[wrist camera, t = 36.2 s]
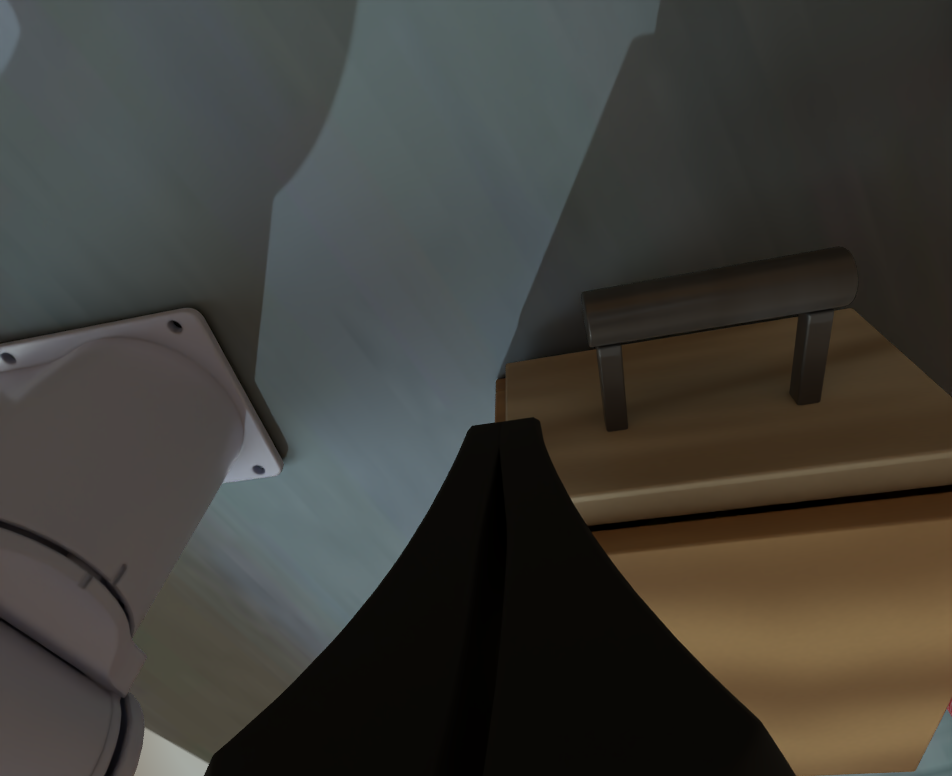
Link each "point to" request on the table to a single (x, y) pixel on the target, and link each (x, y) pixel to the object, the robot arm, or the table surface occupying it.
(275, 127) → the table surface
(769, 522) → the cabinet
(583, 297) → the drawer
